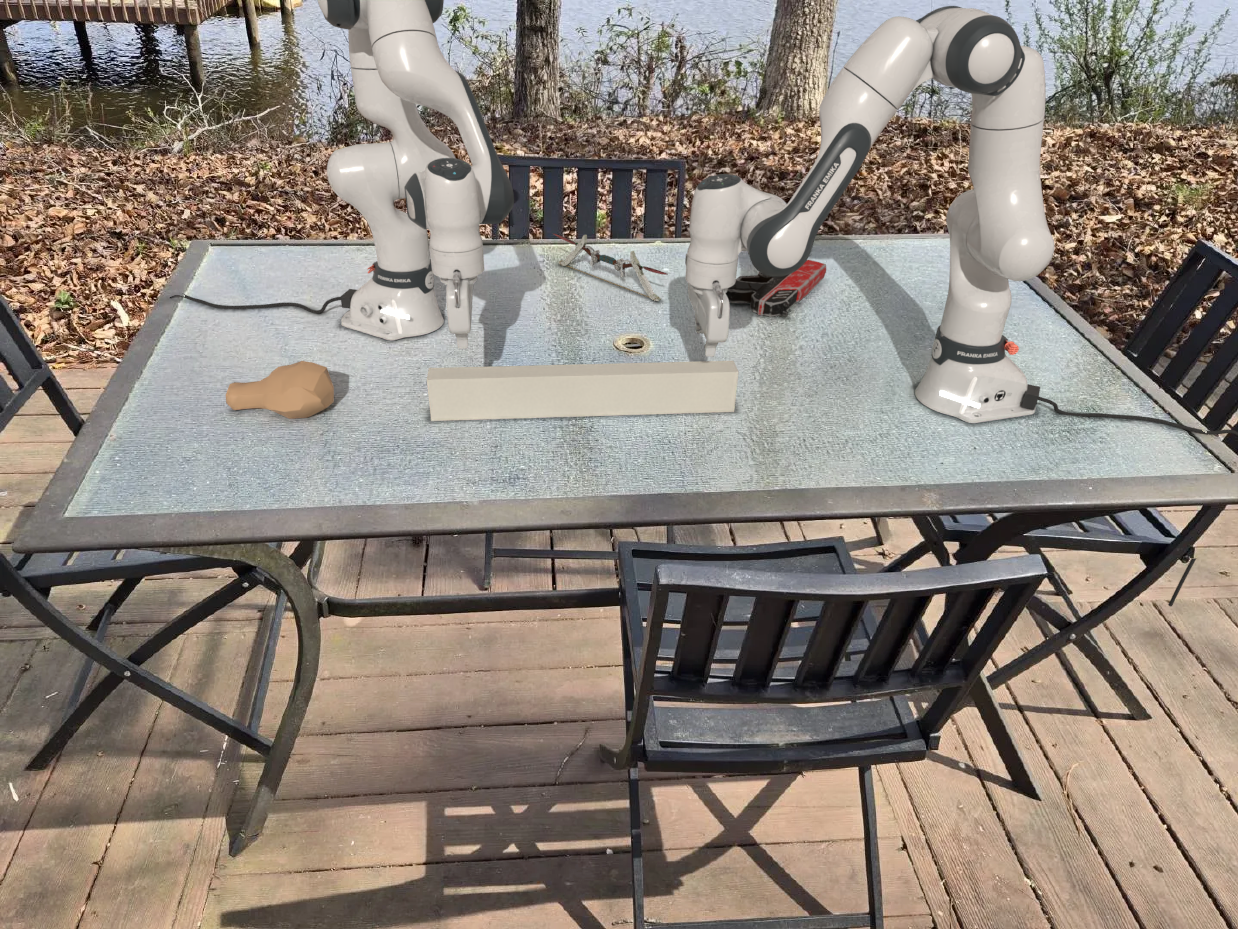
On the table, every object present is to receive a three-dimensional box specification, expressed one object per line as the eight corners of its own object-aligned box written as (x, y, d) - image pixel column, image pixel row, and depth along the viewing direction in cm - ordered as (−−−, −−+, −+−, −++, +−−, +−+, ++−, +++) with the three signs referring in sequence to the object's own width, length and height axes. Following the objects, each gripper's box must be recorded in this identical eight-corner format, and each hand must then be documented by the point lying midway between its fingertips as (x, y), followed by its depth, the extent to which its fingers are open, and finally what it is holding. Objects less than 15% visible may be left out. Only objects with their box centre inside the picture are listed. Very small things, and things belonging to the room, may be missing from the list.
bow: (669, 303, 208) (671, 262, 203) (664, 305, 207) (666, 264, 202) (556, 260, 230) (555, 222, 224) (551, 262, 228) (550, 224, 223)
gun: (708, 284, 207) (784, 305, 199) (760, 245, 229) (831, 262, 221) (706, 302, 209) (781, 323, 201) (758, 261, 231) (828, 278, 223)
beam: (431, 421, 161) (426, 379, 156) (433, 408, 165) (428, 367, 160) (734, 412, 167) (738, 371, 162) (729, 400, 170) (733, 360, 166)
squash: (333, 425, 159) (316, 386, 153) (227, 433, 161) (206, 395, 155) (347, 387, 167) (331, 349, 161) (246, 396, 169) (227, 358, 162)
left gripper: (475, 282, 140) (481, 361, 147) (477, 240, 157) (482, 312, 164) (435, 284, 139) (443, 362, 147) (441, 241, 156) (448, 313, 164)
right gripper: (741, 294, 144) (733, 369, 152) (717, 250, 161) (711, 319, 169) (704, 295, 144) (697, 370, 152) (684, 250, 161) (678, 320, 168)
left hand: (463, 335), depth 156 cm, fingers open, 8 cm apart
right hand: (704, 343), depth 160 cm, fingers open, 8 cm apart
